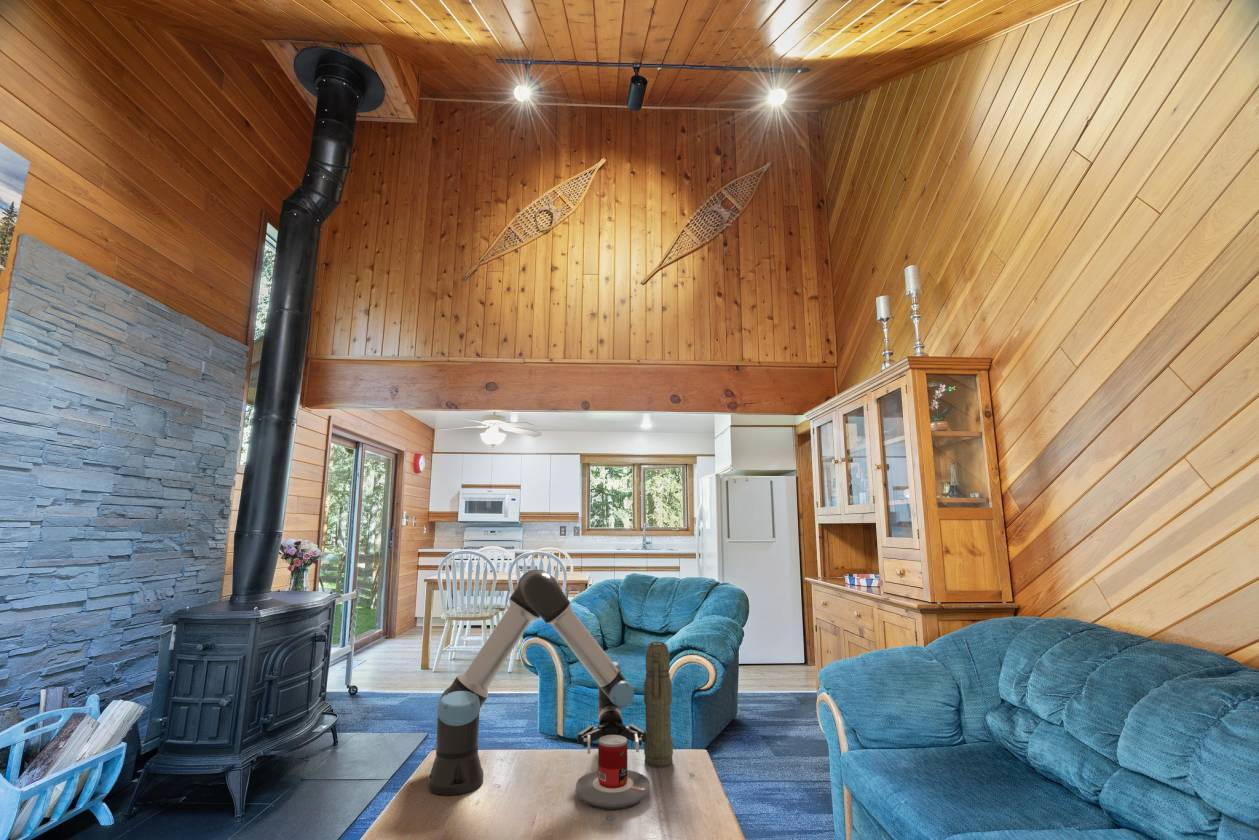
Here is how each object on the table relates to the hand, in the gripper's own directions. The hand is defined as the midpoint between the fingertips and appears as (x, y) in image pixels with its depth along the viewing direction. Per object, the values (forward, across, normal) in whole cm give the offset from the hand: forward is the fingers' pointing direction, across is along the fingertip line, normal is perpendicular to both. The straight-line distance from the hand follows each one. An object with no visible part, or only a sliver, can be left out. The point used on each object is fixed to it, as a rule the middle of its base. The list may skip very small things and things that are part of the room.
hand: (613, 747), depth 168 cm
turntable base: (+4, 0, -11) cm, 12 cm away
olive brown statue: (-19, -15, -11) cm, 27 cm away
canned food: (+3, 0, -8) cm, 9 cm away
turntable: (+3, 0, -9) cm, 10 cm away
